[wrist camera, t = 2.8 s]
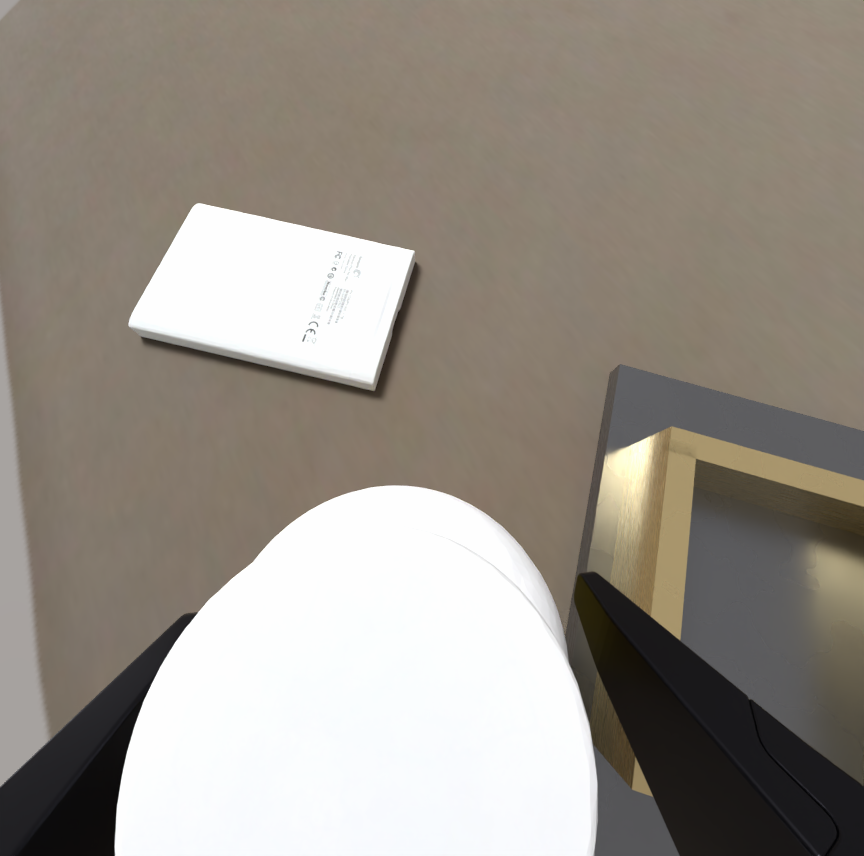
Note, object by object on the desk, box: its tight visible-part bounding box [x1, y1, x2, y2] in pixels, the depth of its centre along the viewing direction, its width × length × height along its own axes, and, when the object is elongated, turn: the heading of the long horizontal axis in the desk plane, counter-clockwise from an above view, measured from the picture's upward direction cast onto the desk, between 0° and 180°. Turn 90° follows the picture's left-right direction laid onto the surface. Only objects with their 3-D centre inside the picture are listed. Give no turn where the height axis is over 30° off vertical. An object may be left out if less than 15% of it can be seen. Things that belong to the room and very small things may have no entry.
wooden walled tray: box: [565, 364, 864, 856], centre depth 14 cm, size 20×14×4 cm
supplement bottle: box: [115, 486, 598, 856], centre depth 10 cm, size 7×7×13 cm
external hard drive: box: [128, 204, 415, 391], centre depth 20 cm, size 2×8×12 cm
